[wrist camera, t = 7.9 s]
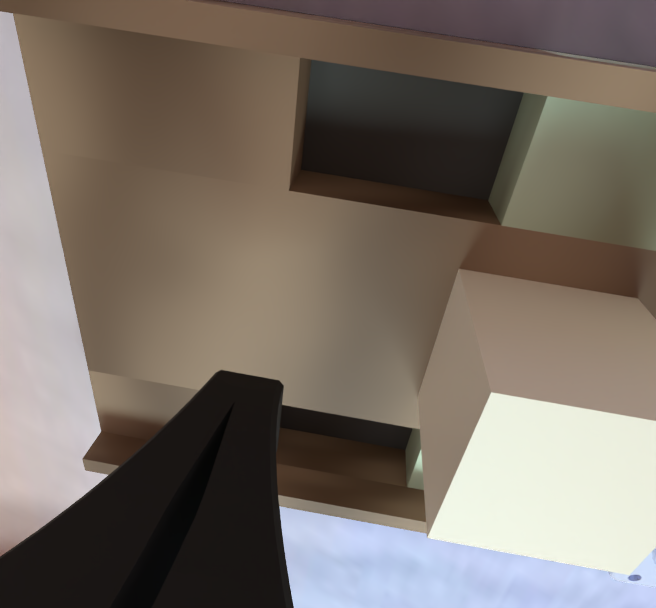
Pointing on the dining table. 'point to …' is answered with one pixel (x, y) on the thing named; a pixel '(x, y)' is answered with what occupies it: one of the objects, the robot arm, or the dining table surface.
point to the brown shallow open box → (318, 213)
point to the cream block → (542, 423)
